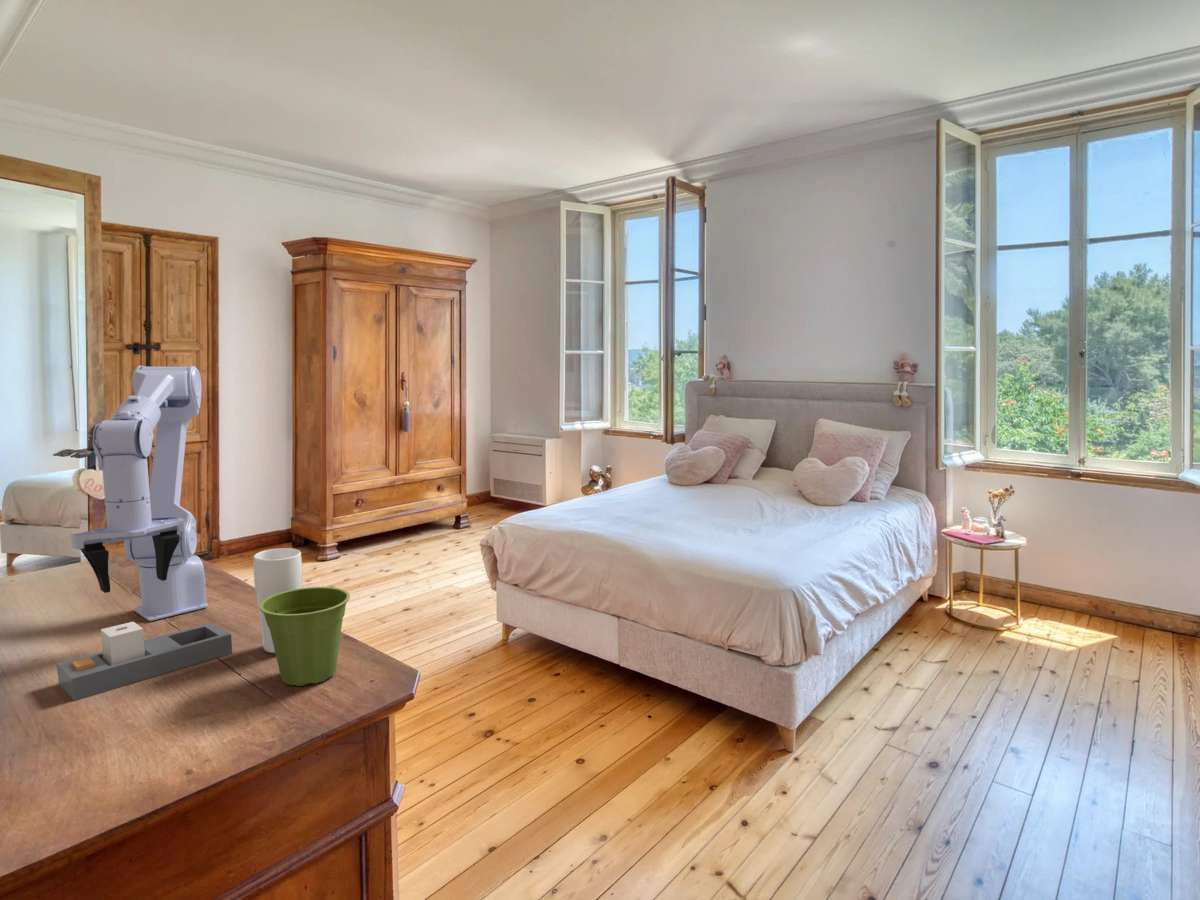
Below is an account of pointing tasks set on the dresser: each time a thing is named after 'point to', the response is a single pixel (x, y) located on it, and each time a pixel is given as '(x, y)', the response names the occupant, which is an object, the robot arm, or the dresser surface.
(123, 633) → the block
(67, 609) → the dresser surface
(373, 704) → the dresser surface
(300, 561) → the white tall hollow cylinder
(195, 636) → the power strip
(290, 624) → the plant pot
